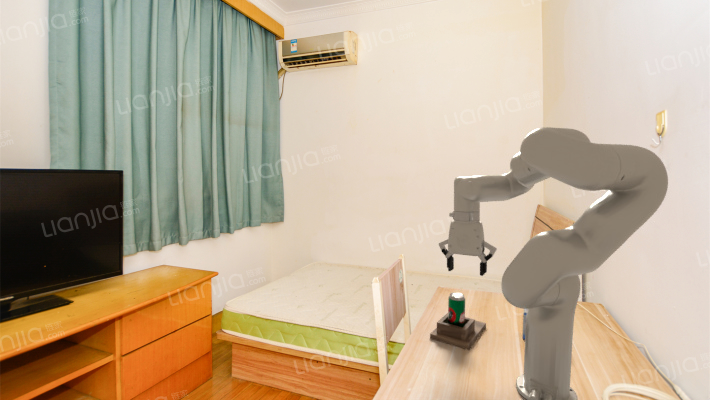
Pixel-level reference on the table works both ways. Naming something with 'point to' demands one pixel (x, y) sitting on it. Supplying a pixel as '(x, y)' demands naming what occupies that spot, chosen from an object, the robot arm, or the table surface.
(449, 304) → the soda can
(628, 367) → the table surface
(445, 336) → the can stand
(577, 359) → the table surface
